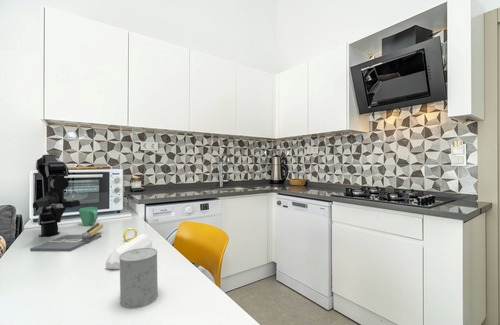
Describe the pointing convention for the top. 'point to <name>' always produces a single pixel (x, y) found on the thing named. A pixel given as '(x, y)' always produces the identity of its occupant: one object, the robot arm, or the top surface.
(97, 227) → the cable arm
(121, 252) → the white long bar
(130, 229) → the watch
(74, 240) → the panel
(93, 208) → the mug
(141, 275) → the grey concrete cylinder
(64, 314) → the top surface
